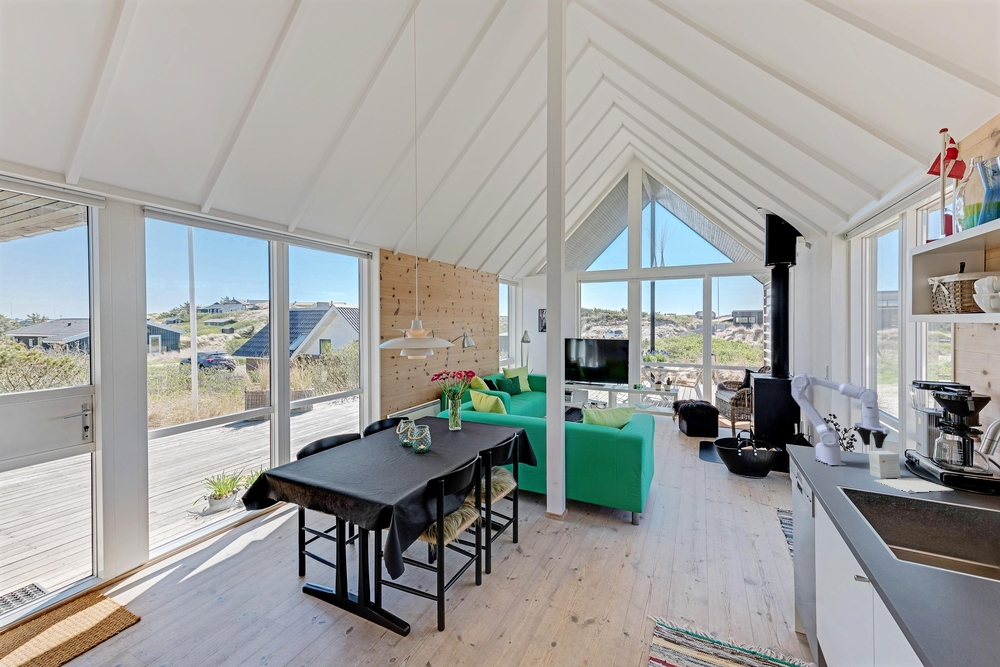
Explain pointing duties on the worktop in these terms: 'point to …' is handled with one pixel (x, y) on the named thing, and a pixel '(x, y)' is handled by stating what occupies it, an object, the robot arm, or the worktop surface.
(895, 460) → the small box
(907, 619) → the worktop surface
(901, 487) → the mat
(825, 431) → the robot arm
